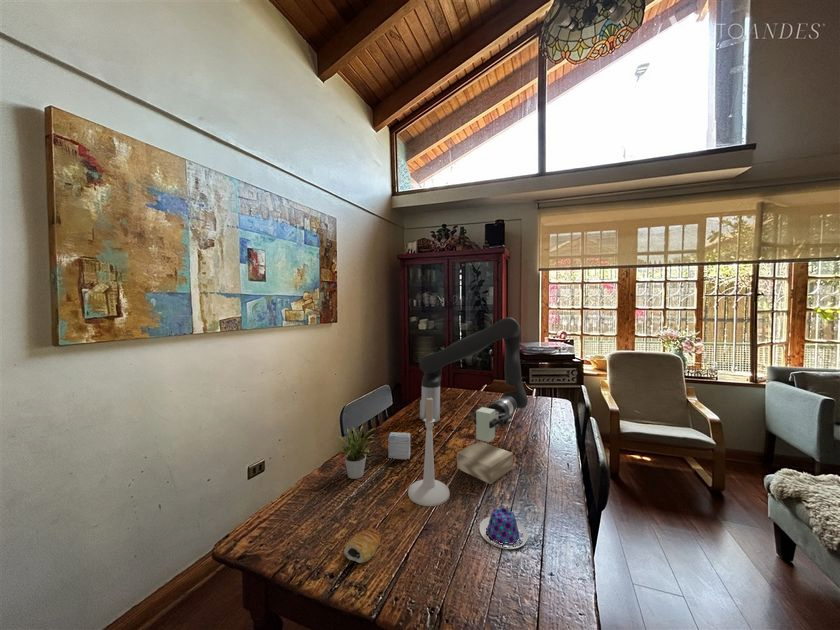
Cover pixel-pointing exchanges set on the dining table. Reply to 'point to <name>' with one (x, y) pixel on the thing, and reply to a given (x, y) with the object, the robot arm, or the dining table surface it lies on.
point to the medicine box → (399, 445)
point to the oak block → (485, 461)
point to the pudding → (502, 527)
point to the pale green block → (485, 424)
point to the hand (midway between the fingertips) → (482, 423)
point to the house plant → (356, 453)
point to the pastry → (363, 545)
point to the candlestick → (429, 471)
